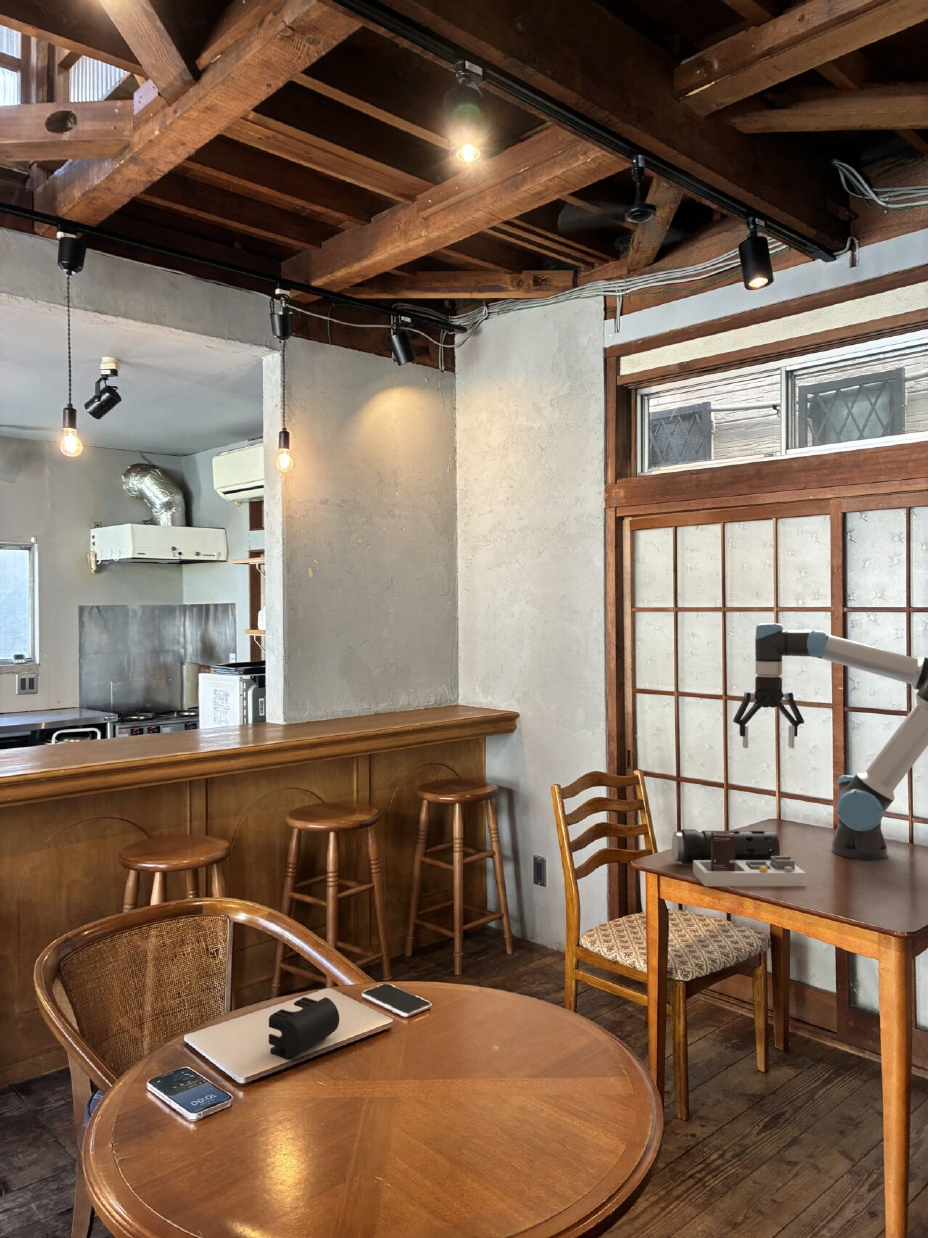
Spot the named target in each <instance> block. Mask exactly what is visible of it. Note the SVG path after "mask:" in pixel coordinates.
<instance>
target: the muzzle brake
mask: <svg viewBox="0 0 928 1238" xmlns="http://www.w3.org/2000/svg"><path fill="white" fill-rule="evenodd" d="M712 831H713V830H702V831H701V832H699V830H697V829H692V828H690V829H689V828H688V829H687V828H686V829H685V828H684V829H683V828H682V829H680V830H679V831H674V832H673V834H672V839H671V840H672V842H671V843H672V844H671V845H672V846H671V847H672V855H673V859H674V861H675V862H680V863H681V864H683V865H693V860H711V832H712ZM715 831H716V832H734V834H735V860H770V856H781V853H780V852H781V851H780V848H781V847H780V841H779V837H778V834H777V833H776V832H775V830H715Z"/></svg>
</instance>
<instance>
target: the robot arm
mask: <svg viewBox="0 0 928 1238" xmlns="http://www.w3.org/2000/svg"><path fill="white" fill-rule="evenodd" d="M754 640H755V641H754V643H755V648H754V649H755V650H754V651H755V664H754V665H755V672H754V674H755V675H756V676H755V679H754V680H755V683H754V685H755V686H754V687H755V688H754V689H755V690H754V692H748V691H745V692H744V693H743V699H742V701H741V704H740V705H739V707H738V710H737V711H736V713H735V715H734V718H733V720H732V721H733V723H735V724H737V725H739V736H740V737H742V748H743V749H748V748H749V726H748V725H747V724H748V723H749V721H750V720H751V719H752V718H753V717H754V715H756V714H757V712H758V711H759V710H760V709H761V708H773V709H774V708H777V709H778V710H779V711H780V712H781V714H782V715H783V716H784V717H785V718H786V720H787V721H788V722H789V723H790V724H789V725H788V728H787V729H788V733H787V735H788V743H787V745H788V746H787V747H788V748H789V749H795V737H798V728H799V726H800V725H801V724H804V723H805V720H804V718H803V716H802V713H801V711H800V709H799V707H798V705H797V703H796V702H795V700H794V698H795V697H794V693H793V692H792V691H786V692H783V677H782V675H783V657H811V658H818V659H822V660H824V661H828V662H832V663H835V664H839V665H842V666H846V667H850V668H853V669H857V670H860V671H864V672H868V673H870V674H874V675H877V676H882V677H885V678H887V679H891V680H896V681H897V682H902V683H906V684H909V685H911V687H912V688H913V689H914V690H917V693H916V694H915V698H916V703H915V705H914V706H913V708H912V709H911V711H910V712H909V713H908V714H907V716H906V717H905V718H904V720H903V721H902V722H901V724H900V725H899V726H898V727H897V730H895V732H894V733H893V734H892V736H891V737H890V739H889V740H888V741H887V742H886V744H885V745H884V746H883V748H881V750H880V751H879V753H878V754H877V756H876V757H875V758H874V760H873V761H872V763H871V764H870V765H869V766H868V767H867V769H866V771H862V772H857V773H856V774H855V775H853V774H852V775H851V774H849V775H848V774H842V775H840V776H839V777H838V782H837V786H838V797H837V802H836V812H837V816H838V822H837V823H838V824H837V827H836V831H835V833H834V836H833V838H832V842H831V851H832V852H833V853H834V854H836V855H839V856H842V857H845V858H846V857H847V858H851V859H858V860H881V859H885V858H887V857H888V846H887V843H886V840H885V838H884V837H885V836H884V834H883V832H882V831H883V830H882V819H883V817H884V814H885V812H886V811H887V810H888V808H889V807H890V806H891V804H892V803H893V802H894V800H895V795H894V793H895V792H894V791H895V789H896V788H897V787H898V786H899V784H900V783H901V781H902V780H903V779H904V778H905V776H906V775H907V774H908V772H909V771H910V770H911V768H912V767H913V766H914V765H915V763H916V762H917V760H918V759H919V758H920V757H921V755H922V753H924V752H925V750H926V749H927V747H928V657H925V656H922V657H921V658H915V657H913V656H908V655H905V654H902V653H896V652H893V651H890V650H886V649H882V648H878V647H874V646H871V645H868V644H864V643H860V642H858V641H857V642H856V641H852V640H849V639H846V638H841V637H838V636H834V635H829V634H827V633H826V632H825V631H823V630H814V629H810V628H809V629H808V628H805V629H802V630H786V629H784V628H783V625H782V624H781V623H758V624H757V625H756V627H755V638H754ZM753 698H754V699H755V702H754V703H753V704H752V706H751V707H750V708H749V710H747V708H748V706H749V704H750V702H751V701H752V700H753ZM783 699H784V700H786V701H787V704H788V706H789V708H790V711H792V714H793V715H792V714H791V712H790V711H789V710H788V709H787V708H786V707H785V705H784V704H783V703H782V700H783ZM746 710H747V712H746ZM745 712H746V713H745Z"/></svg>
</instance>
